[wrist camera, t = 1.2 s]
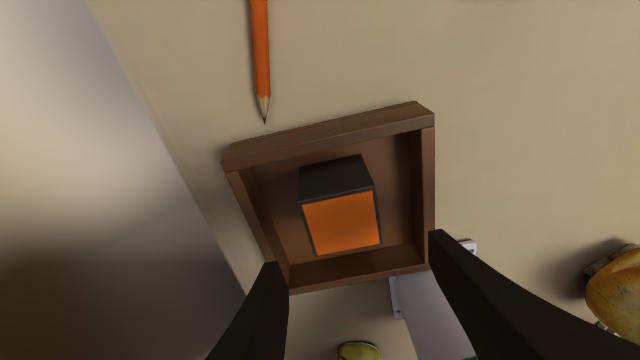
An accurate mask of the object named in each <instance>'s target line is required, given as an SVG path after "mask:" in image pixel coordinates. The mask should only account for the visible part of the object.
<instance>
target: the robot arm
mask: <svg viewBox="0 0 640 360" xmlns="http://www.w3.org/2000/svg"><path fill="white" fill-rule="evenodd" d="M476 249H477V244H476V243H475V242H474V241H472V240H470V241H464V242H457V241H456V240H455V239H454V238H452V237H451V236H450V235H449V234H448V233H446V232H445V231H444V230H442V229H437V230H432V231H428V263H429V265H430V267H431V270H427V271H421V272H416V273H410V274H405V275H400V276H394V277H389V278H388V279H389V286H390V293H391V301H392V308H393V315H394V318H395V319H396V320H401V319H405V322H406V325H407V328H408V330H409V333H410V336H411V339H412V342H413V345H414V348H415V351H416V354H417V357H418V360H640V345H638V344H636V343H633V342H631V341H629V340H626V339H624V338H621V337H619V336H617V335H614V334H612V333H610V332H608V331H606V330H603V329H601V328H599V327H597V326H595V325H593V324H590V323H588V322H586V321H584V320H582V319H580V318H578V317H576V316H574V315H572V314H570V313H568V312H566V311H564V310H562V309H560V308H558V307H556V306H554V305H552V304H550V303H549V302H547V301H545V300H543V299H541V298H540V297H538V296H536V295H534V294H532V293H531V292H529V291H527V290H526V289H524V288H522V287H521V286H519V285H518V284H516V283H514V282H513V281H511V280H510V279H508V278H507V277H505V276H504V275H502V274H501V273H499V272H498V271H496V270H495V269H493V268H492V267H490V266H489V265H488V264H486V263H485V262H483V261H482V260H481V259H479V258H478V257H477V256H476ZM288 315H289V287H288V285H287V283H286V280H285V278H284V275H283V273H282V271H281V268H280V266H279V264H278V261H277V260H276V261H271V262H265V263H264V265H263V266H262V268H261V270H260V272H259V274H258V276H257V278H256V280H255V282H254V284H253V286H252V288H251V290H250V291H249V293H248V295H247V297H246V298H245V300H244V302H243V304H242V306H241V307H240V309H239V311H238V312H237V314H236V315H235V317H234V319H233V320H232V322H231V323H230V325H229V327H228V328H227V330H226V331H225V333H224V334H223V335H222V337H221V338H220V340H219V341H218V343H217V344H216V346H215V347H214V348H213V349H212V351H211V352H210V354H209V355H208V356H207V357H206V359H205V360H284V354H285V344H286V335H287V325H288Z"/></svg>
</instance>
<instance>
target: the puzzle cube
mask: <svg viewBox="0 0 640 360" xmlns="http://www.w3.org/2000/svg"><path fill="white" fill-rule="evenodd" d="M297 204H298V207H299V210H300V213H301V216H302V220H303V223H304V226H305V229H306V232H307V235H308V238H309V241H310V244H311V247H312V250H313V253H314V256H315V257H320V256H325V255H330V254H335V253H340V252H345V251H351V250H356V249H361V248H366V247H371V246H376V245H382V244H383V237H382V230H381V222H380V215H379V207H378V200H377V193H376V186H375V184H374V181H373V179H372V177H371V175H370V172H369V170H368V168H367V166H366V163H365V161H364V159H363V157H362V155H361V154H358V155H354V156H349V157H345V158H340V159H335V160H331V161H326V162H322V163H317V164H313V165H308V166H304V167H300V168H299V178H298V194H297Z"/></svg>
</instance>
